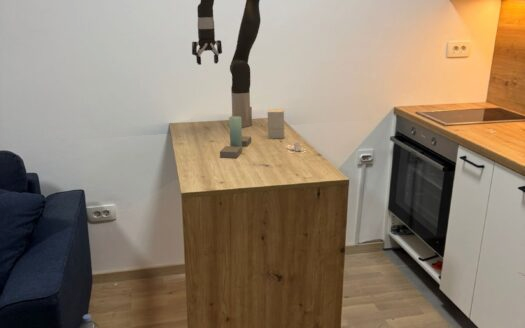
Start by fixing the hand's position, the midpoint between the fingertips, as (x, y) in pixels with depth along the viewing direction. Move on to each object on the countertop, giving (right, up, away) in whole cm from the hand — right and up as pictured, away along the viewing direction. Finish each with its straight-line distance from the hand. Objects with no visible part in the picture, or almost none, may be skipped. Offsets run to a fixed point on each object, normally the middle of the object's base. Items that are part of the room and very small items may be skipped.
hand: (207, 63), depth 225 cm
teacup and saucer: (+41, -41, -18) cm, 60 cm away
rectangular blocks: (+14, -40, -18) cm, 46 cm away
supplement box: (+32, -34, +2) cm, 47 cm away
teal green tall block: (+14, -40, -18) cm, 46 cm away
